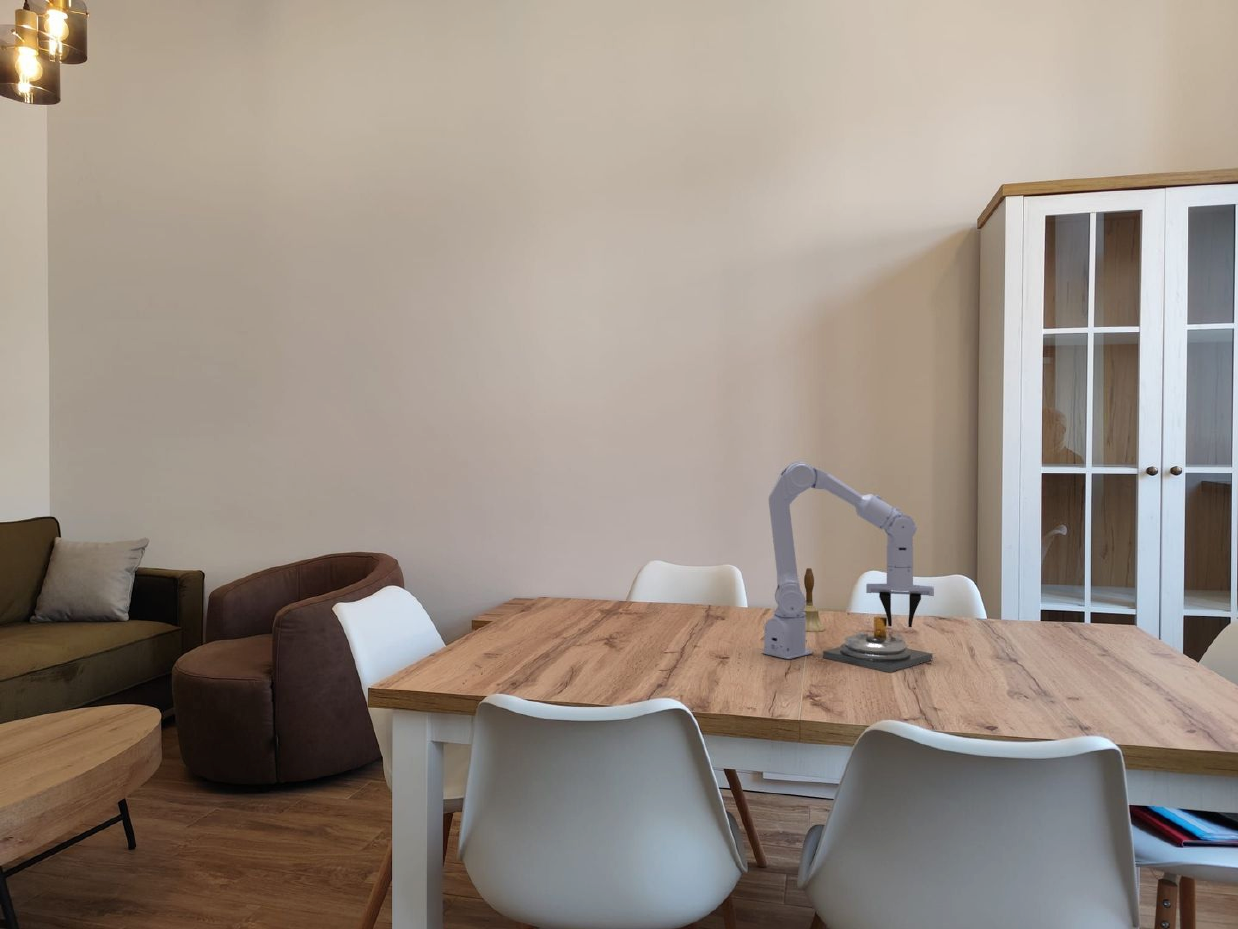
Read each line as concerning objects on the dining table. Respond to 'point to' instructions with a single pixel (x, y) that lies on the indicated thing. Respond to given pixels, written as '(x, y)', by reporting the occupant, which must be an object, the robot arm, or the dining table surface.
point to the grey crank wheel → (876, 640)
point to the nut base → (878, 658)
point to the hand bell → (811, 605)
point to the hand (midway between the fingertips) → (899, 626)
